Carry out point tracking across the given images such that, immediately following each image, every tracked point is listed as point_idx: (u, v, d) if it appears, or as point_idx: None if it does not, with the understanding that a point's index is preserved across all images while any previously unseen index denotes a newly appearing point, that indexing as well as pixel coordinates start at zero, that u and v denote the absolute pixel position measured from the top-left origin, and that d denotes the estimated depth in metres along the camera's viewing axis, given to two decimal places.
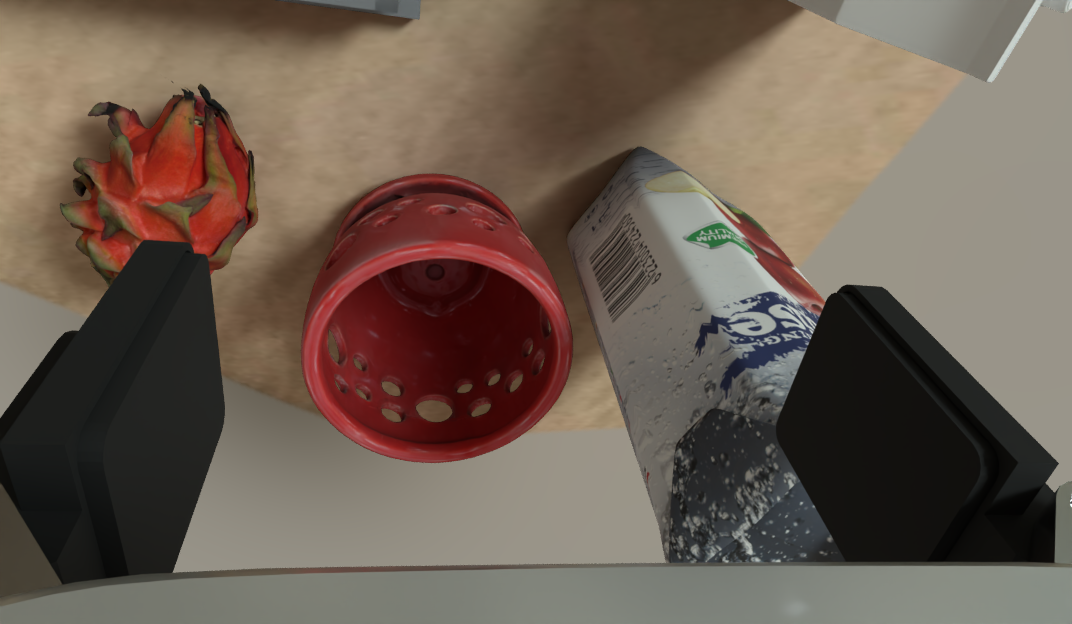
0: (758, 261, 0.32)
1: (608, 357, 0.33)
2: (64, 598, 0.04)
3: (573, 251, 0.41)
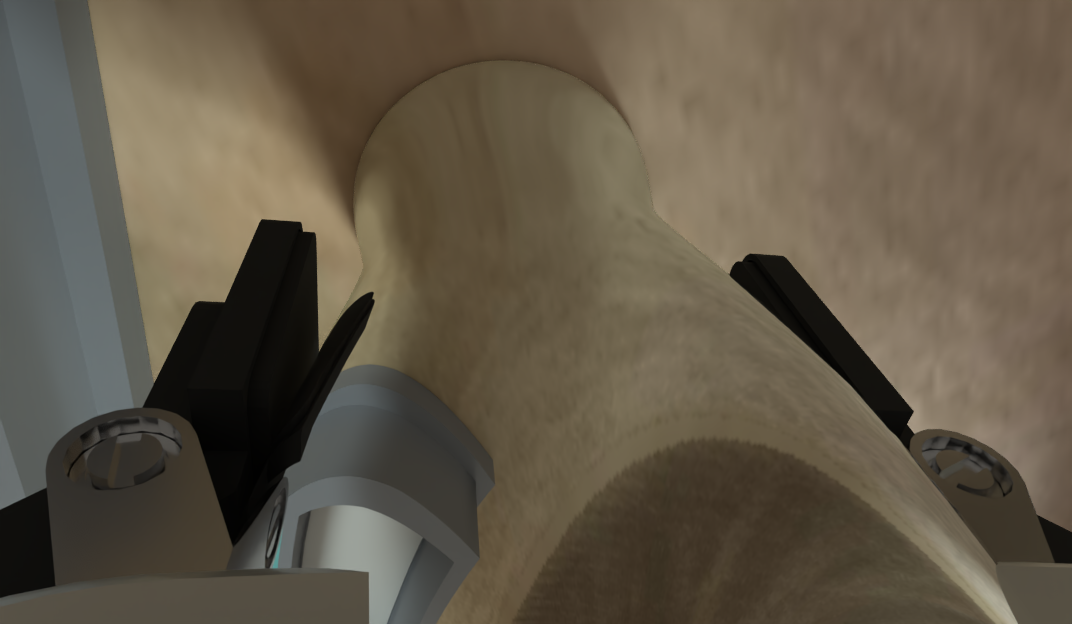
0: None
1: None
2: (64, 598, 0.04)
3: None
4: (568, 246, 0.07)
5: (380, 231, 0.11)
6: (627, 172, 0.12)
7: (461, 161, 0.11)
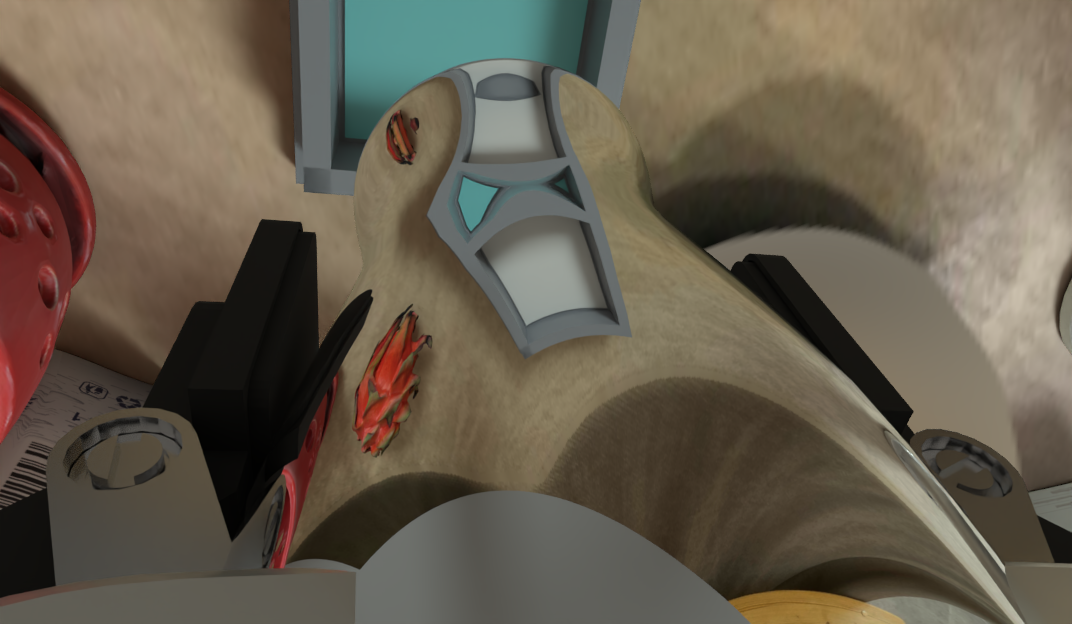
0: None
1: None
2: (65, 598, 0.04)
3: (33, 398, 0.31)
4: (569, 242, 0.07)
5: (380, 229, 0.11)
6: (628, 170, 0.12)
7: (461, 158, 0.11)
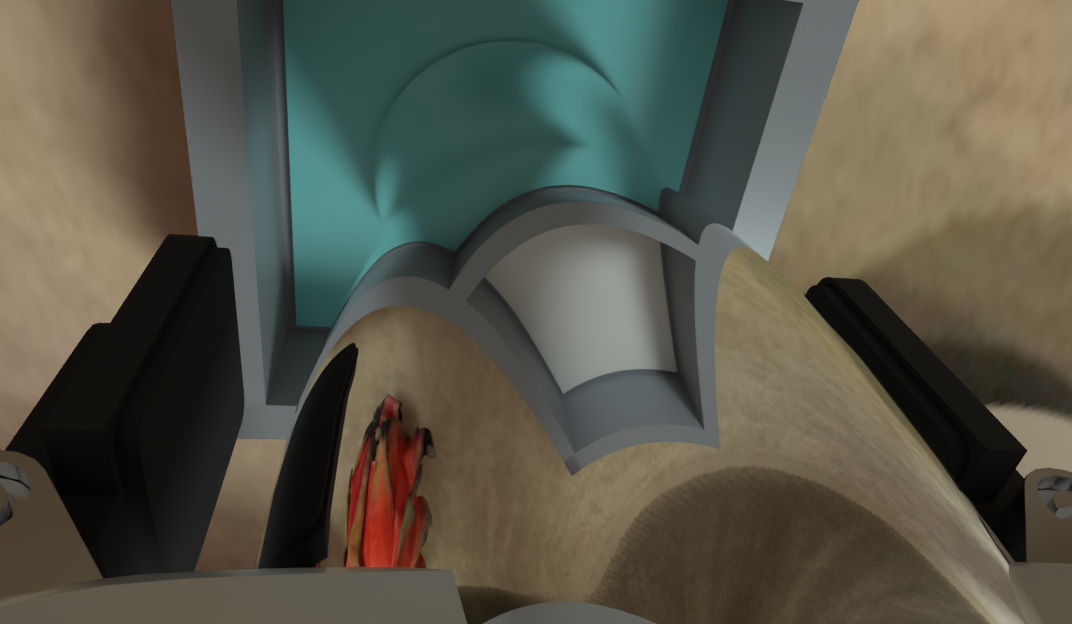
0: None
1: None
2: (64, 598, 0.04)
3: None
4: (570, 180, 0.09)
5: (403, 186, 0.12)
6: (621, 138, 0.14)
7: (475, 125, 0.12)
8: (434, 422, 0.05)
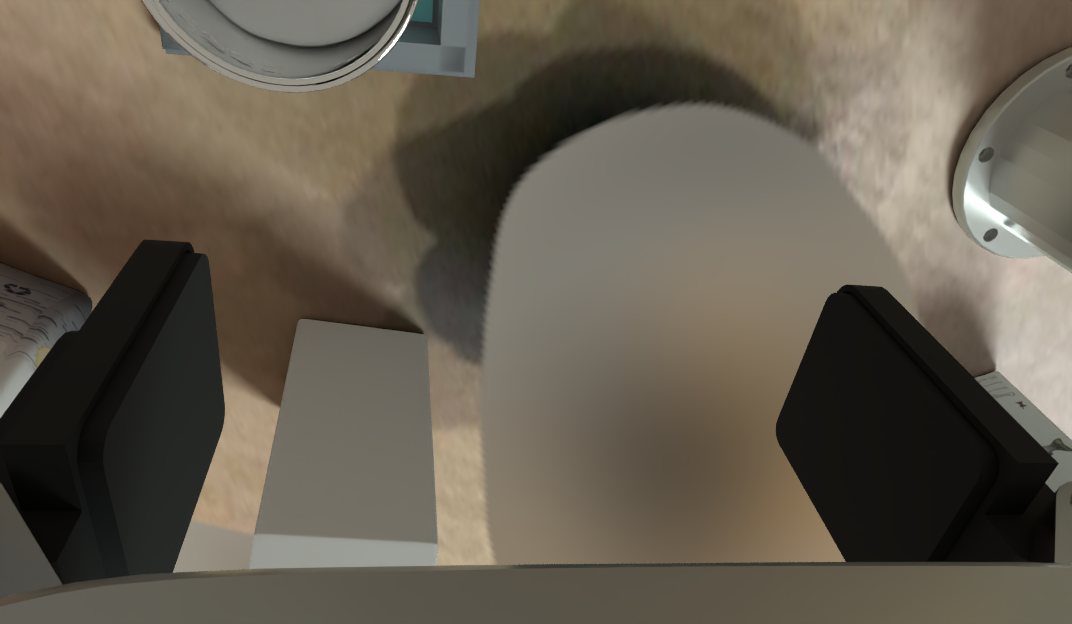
0: None
1: None
2: (65, 598, 0.04)
3: None
4: None
5: None
6: None
7: None
8: None
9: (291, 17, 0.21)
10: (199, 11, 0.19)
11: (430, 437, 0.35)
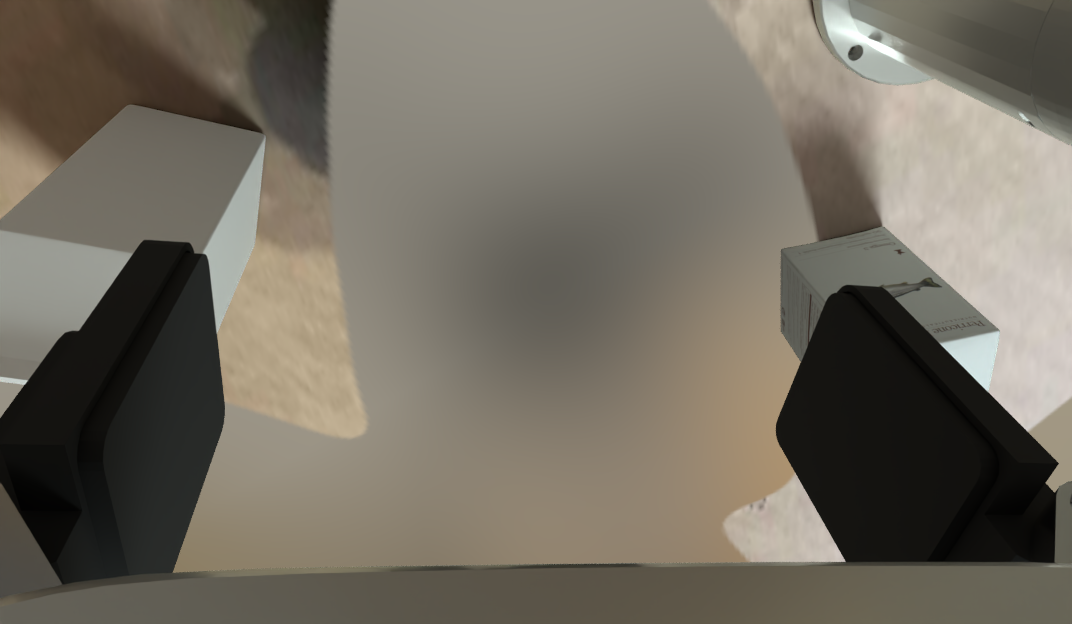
0: None
1: None
2: (64, 598, 0.04)
3: None
4: None
5: None
6: None
7: None
8: None
9: None
10: None
11: (229, 197, 0.34)
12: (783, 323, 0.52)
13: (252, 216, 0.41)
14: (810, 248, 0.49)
